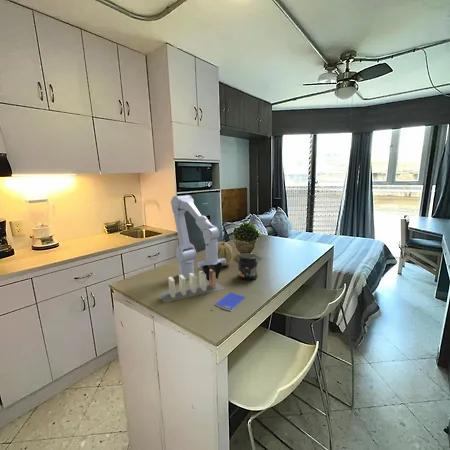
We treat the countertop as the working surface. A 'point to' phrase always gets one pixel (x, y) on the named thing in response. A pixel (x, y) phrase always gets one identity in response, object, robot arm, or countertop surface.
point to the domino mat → (189, 292)
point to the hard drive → (230, 301)
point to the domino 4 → (202, 280)
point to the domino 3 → (192, 282)
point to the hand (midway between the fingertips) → (212, 278)
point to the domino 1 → (171, 287)
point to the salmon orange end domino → (212, 279)
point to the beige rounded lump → (225, 252)
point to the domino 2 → (182, 284)
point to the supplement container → (247, 266)
